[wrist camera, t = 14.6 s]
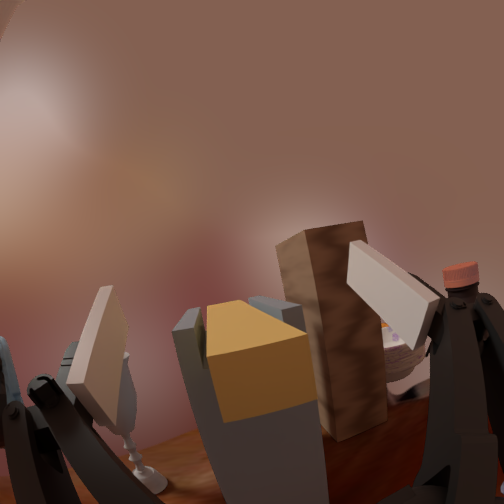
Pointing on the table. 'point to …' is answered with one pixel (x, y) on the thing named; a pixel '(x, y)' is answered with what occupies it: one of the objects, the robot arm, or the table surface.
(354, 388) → the walnut pedestal
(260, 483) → the grey u cradle
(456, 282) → the bottle
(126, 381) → the chalice
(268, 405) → the ochre bar
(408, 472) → the table surface
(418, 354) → the paper bowls
